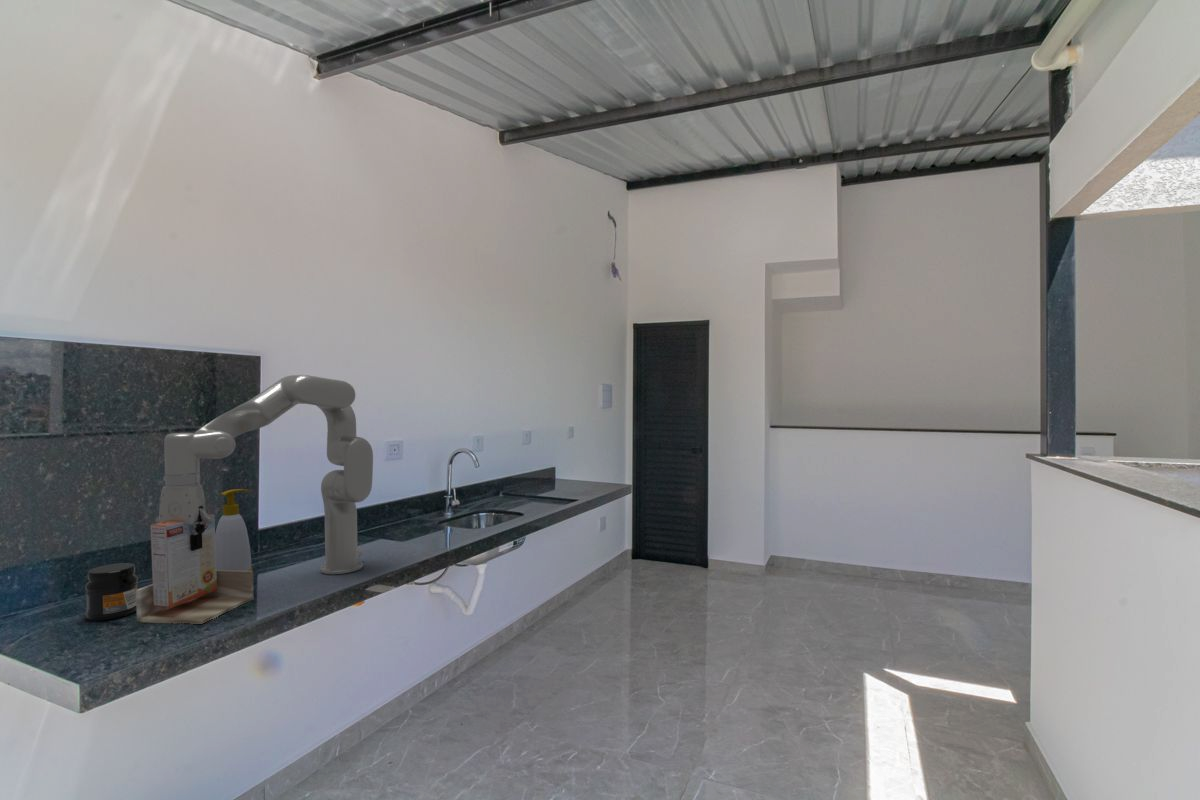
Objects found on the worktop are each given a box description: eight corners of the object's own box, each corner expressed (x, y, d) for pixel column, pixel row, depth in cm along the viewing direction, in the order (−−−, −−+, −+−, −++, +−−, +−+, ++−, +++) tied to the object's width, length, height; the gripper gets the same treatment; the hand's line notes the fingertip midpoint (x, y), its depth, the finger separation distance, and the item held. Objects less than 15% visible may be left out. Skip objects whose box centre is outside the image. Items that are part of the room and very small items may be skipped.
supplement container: (141, 614, 158) (140, 567, 158) (88, 625, 151) (87, 576, 151) (135, 604, 166) (133, 560, 166) (84, 614, 159) (82, 568, 158)
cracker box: (200, 589, 169) (199, 512, 168) (218, 590, 167) (216, 513, 167) (150, 606, 155) (149, 523, 155) (169, 608, 154) (167, 524, 153)
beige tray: (194, 597, 171) (193, 568, 171) (253, 600, 168) (252, 570, 168) (136, 621, 153) (136, 589, 153) (202, 624, 150) (201, 592, 150)
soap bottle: (259, 572, 194) (257, 489, 194) (217, 581, 185) (216, 494, 185) (246, 566, 201) (244, 486, 201) (206, 574, 193) (204, 490, 192)
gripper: (140, 482, 158) (142, 552, 158) (201, 482, 156) (203, 553, 156) (165, 478, 166) (167, 544, 166) (223, 478, 163) (225, 546, 163)
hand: (184, 548), depth 161 cm, fingers closed on cracker box, 6 cm apart
